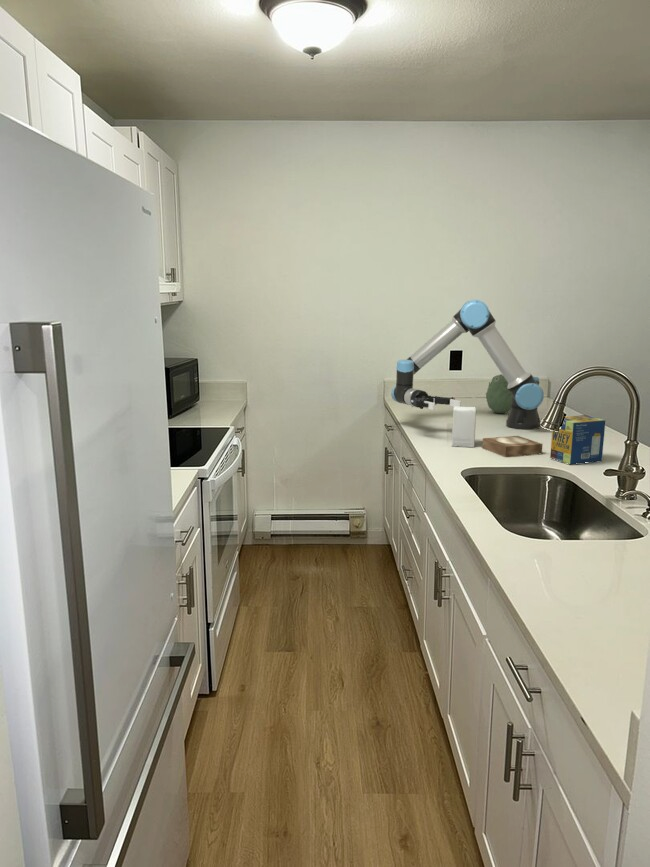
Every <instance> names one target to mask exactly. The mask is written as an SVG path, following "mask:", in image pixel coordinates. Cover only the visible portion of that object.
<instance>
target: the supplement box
mask: <svg viewBox="0 0 650 867" xmlns="http://www.w3.org/2000/svg"><path fill="white" fill-rule="evenodd" d="M476 409H477V408H476V407H475V406H461V407H457V406H453V410H452V412H453V413H452V428H451V429H452V430H451V431H452V432H451V447H456V446H459V448H462V447H463V448H475V437H476V424H477V422H476V419H477V418H476V417H477V410H476Z"/></svg>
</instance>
